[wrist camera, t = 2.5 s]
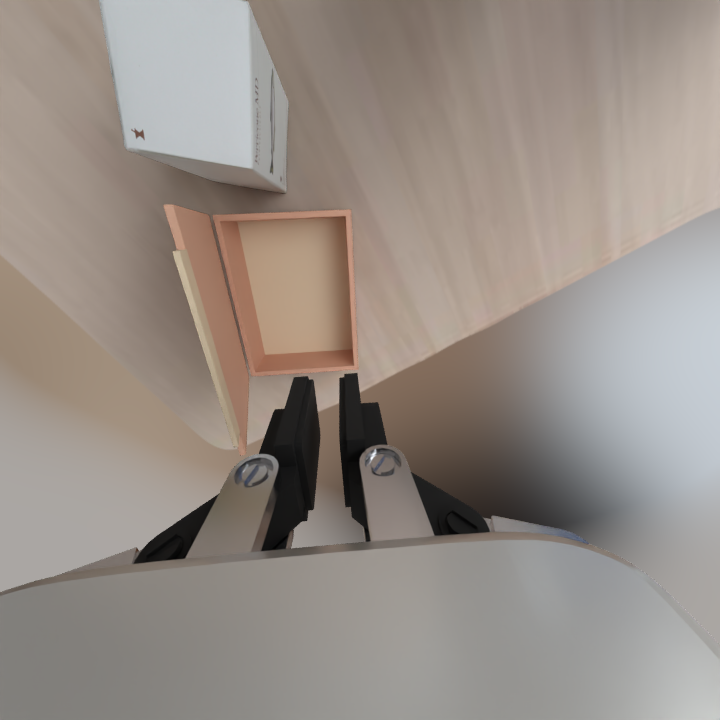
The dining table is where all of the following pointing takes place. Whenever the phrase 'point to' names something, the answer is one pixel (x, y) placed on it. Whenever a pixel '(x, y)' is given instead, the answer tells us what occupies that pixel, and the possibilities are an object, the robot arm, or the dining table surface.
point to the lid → (212, 315)
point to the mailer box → (292, 289)
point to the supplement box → (198, 89)
